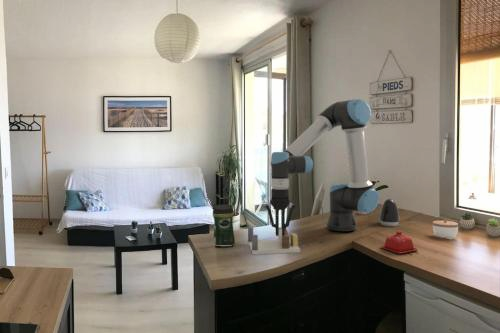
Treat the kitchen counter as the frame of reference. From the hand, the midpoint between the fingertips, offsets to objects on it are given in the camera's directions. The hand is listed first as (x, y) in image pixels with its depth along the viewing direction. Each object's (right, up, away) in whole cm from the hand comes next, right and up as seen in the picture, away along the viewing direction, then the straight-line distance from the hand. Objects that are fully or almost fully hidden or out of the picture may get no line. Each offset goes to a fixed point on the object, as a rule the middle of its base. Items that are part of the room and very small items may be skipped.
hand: (280, 243), depth 164 cm
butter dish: (+50, -3, -2) cm, 50 cm away
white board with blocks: (-3, -3, +4) cm, 6 cm away
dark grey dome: (+62, 0, +43) cm, 76 cm away
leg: (+2, -1, +3) cm, 4 cm away
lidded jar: (+78, -1, +15) cm, 80 cm away
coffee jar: (-25, -3, +9) cm, 26 cm away
